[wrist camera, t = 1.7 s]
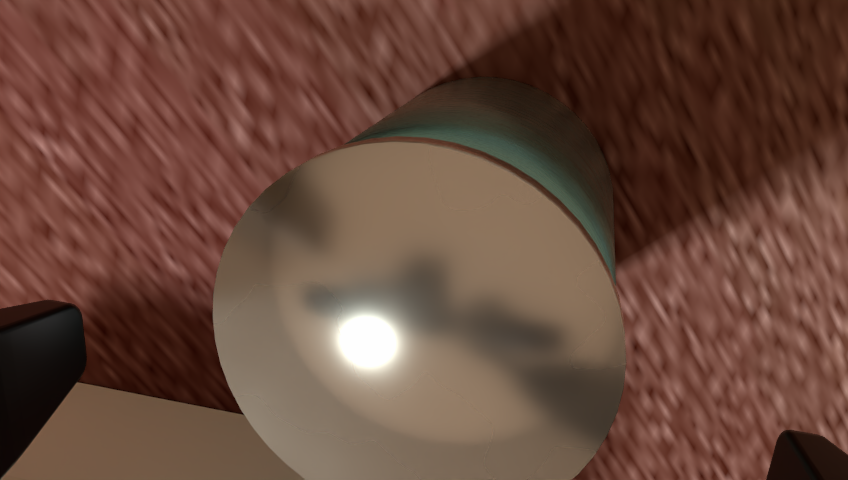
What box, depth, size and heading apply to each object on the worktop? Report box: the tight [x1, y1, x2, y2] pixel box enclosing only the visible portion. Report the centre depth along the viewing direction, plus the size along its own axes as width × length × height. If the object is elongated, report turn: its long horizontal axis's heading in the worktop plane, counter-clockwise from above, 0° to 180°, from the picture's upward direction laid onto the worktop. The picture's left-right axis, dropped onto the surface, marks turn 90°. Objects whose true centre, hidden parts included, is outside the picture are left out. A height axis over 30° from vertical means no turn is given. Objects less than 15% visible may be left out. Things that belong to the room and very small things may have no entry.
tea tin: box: [213, 77, 626, 480], centre depth 13 cm, size 6×6×7 cm
